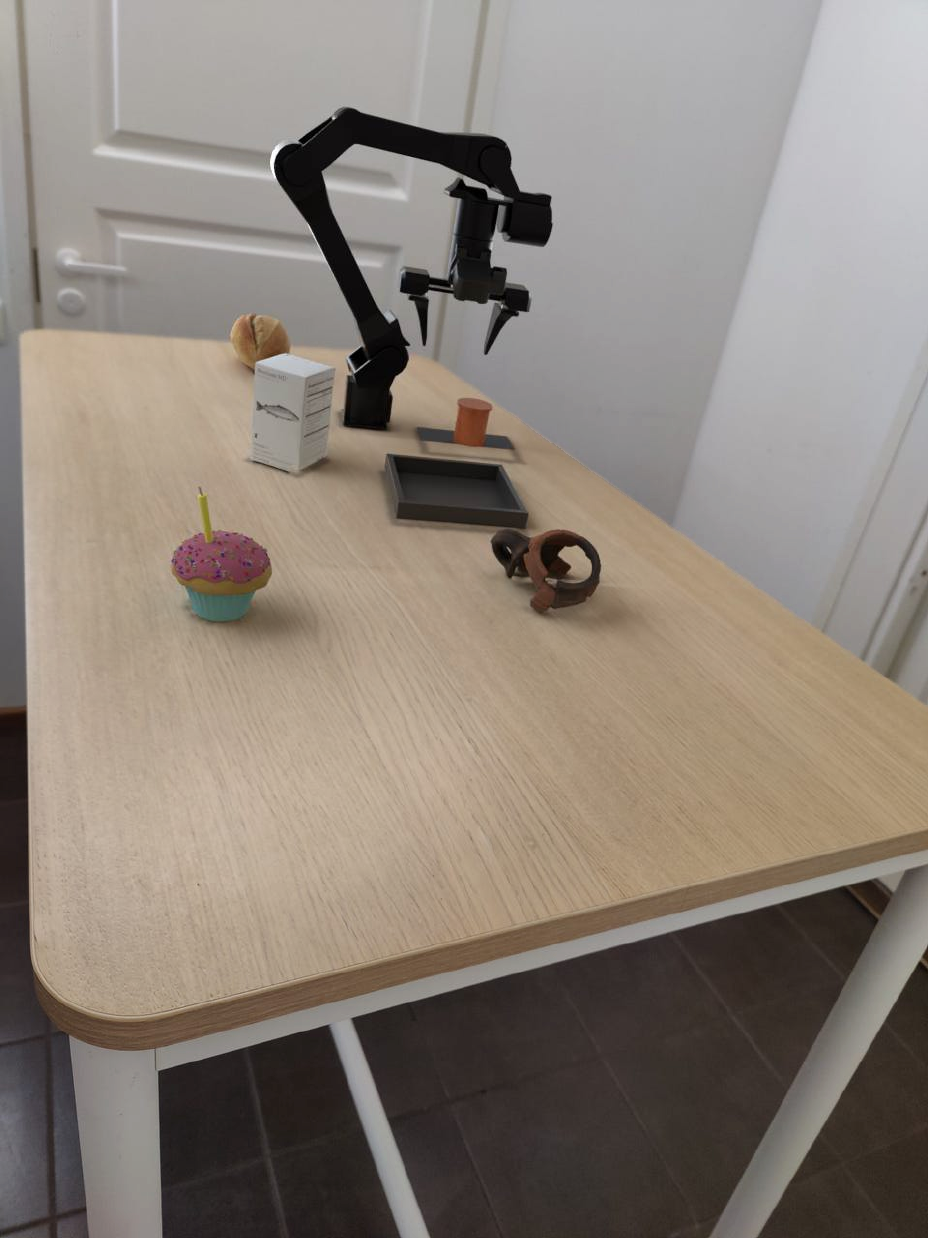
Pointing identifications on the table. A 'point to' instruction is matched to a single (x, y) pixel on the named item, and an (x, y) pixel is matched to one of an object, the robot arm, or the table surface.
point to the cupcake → (220, 570)
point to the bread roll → (259, 338)
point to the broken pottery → (547, 565)
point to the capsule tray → (453, 492)
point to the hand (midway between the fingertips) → (454, 349)
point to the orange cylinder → (471, 422)
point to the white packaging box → (291, 411)
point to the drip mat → (448, 435)
